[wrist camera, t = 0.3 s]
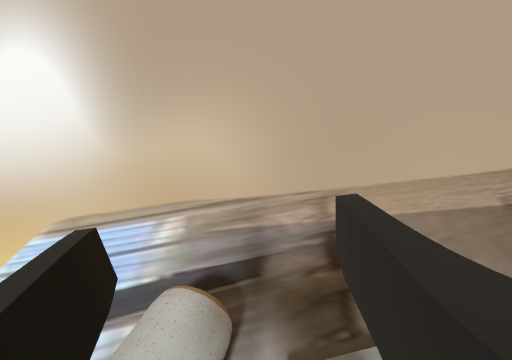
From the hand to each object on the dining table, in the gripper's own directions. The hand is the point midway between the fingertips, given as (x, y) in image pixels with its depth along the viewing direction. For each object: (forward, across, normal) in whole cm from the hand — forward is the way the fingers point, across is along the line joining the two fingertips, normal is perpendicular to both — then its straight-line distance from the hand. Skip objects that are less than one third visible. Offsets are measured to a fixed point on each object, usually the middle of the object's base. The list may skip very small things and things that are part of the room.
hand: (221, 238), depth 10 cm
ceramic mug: (+9, +8, +21) cm, 24 cm away
